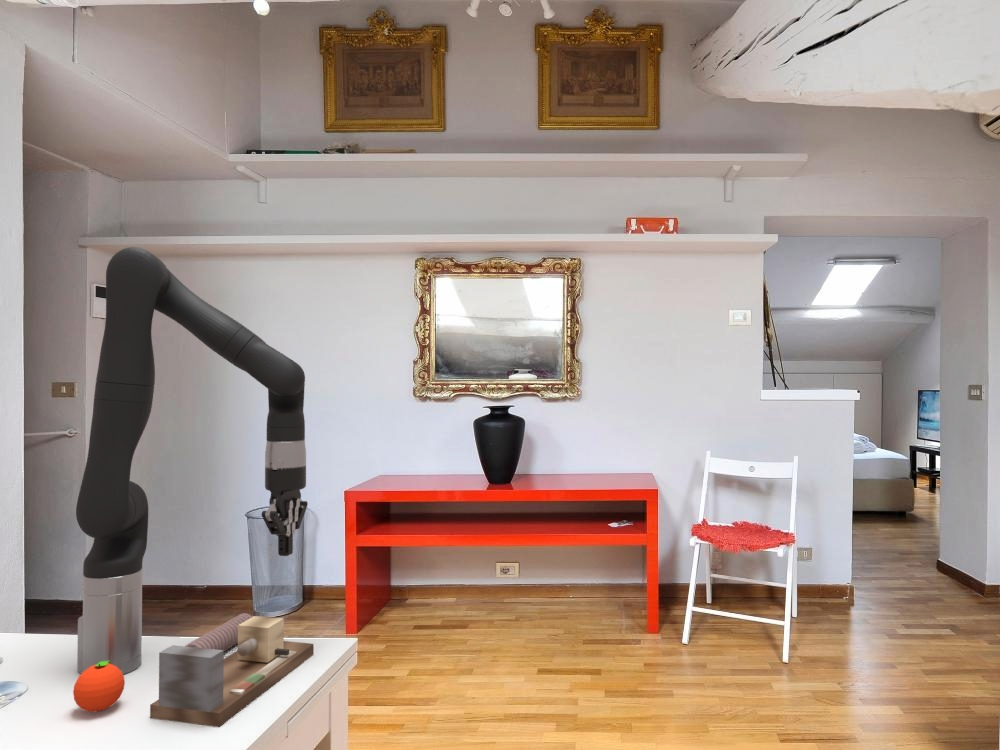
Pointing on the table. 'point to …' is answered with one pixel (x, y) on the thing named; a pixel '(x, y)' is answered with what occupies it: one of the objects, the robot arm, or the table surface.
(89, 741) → the table surface
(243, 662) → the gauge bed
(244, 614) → the coil
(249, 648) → the block
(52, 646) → the table surface
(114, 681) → the clementine
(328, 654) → the table surface
